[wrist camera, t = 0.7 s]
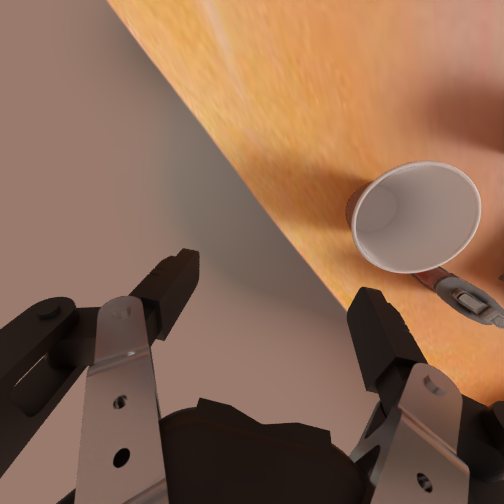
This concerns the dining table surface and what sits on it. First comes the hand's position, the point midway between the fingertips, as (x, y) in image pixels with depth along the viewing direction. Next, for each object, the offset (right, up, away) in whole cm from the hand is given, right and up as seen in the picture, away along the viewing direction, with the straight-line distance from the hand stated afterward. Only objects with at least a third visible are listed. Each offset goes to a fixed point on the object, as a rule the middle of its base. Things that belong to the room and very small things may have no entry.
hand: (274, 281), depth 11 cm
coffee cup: (+16, +8, +20) cm, 27 cm away
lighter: (+26, -2, +21) cm, 33 cm away
